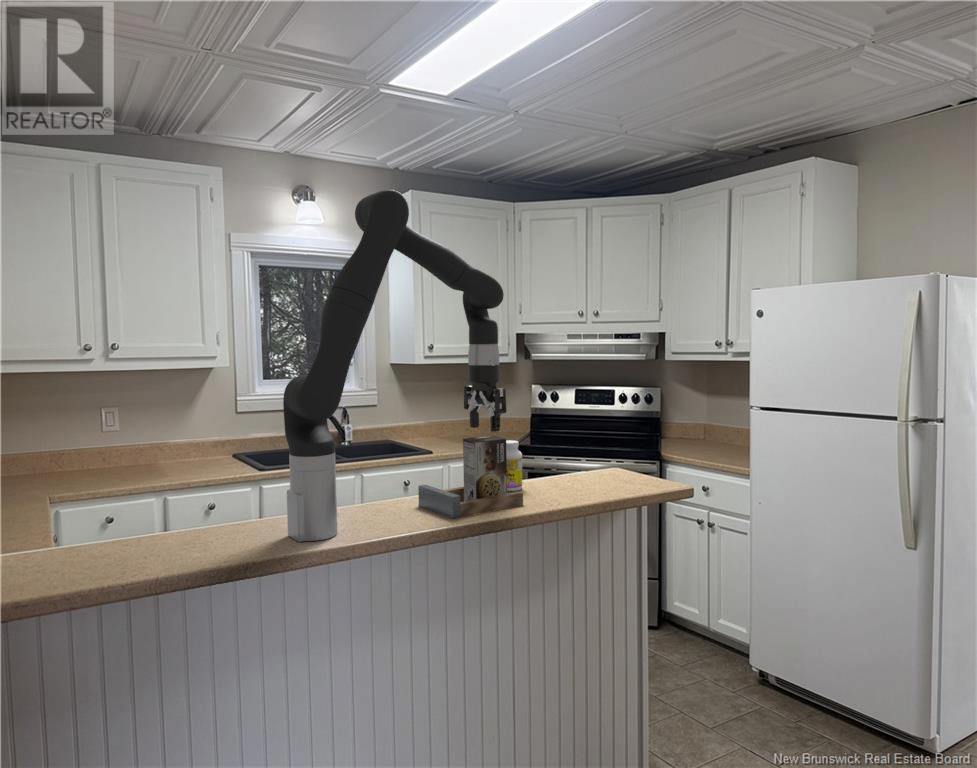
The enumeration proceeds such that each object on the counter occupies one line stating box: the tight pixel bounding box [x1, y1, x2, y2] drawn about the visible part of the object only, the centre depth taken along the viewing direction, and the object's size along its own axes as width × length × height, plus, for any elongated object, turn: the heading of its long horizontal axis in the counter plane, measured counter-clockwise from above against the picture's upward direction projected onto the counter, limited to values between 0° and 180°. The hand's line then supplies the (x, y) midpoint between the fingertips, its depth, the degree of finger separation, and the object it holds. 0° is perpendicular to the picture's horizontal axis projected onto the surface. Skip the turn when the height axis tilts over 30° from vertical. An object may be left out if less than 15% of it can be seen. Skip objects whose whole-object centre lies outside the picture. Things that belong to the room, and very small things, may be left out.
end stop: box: [417, 484, 462, 520], centre depth 160 cm, size 2×15×5 cm, turn 37°
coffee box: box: [462, 434, 508, 502], centre depth 168 cm, size 9×6×16 cm
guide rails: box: [443, 486, 524, 518], centre depth 166 cm, size 18×15×3 cm
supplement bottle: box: [506, 439, 523, 492], centre depth 183 cm, size 7×7×13 cm
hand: (484, 429), depth 167 cm, fingers open, 8 cm apart
